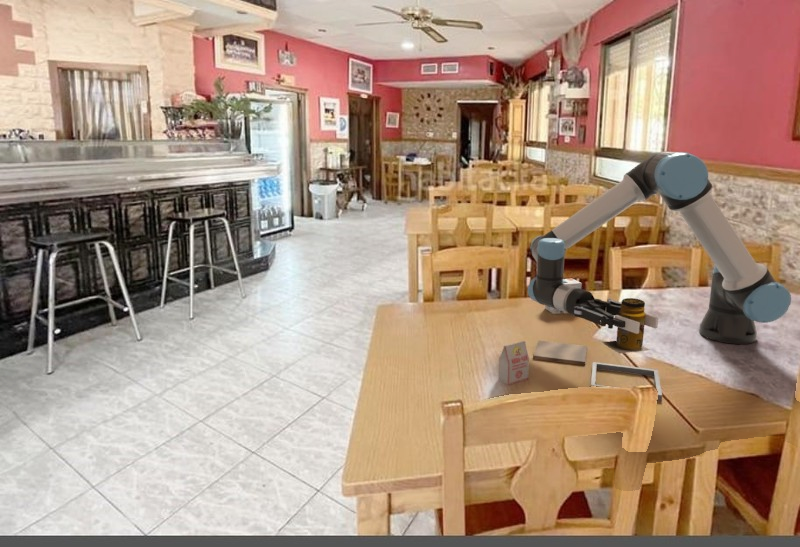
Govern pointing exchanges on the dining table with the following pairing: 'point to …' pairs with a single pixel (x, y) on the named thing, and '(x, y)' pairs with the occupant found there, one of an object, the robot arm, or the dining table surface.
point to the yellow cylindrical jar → (626, 338)
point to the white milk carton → (514, 363)
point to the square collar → (627, 370)
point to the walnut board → (560, 352)
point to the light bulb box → (567, 282)
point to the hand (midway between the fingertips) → (647, 325)
